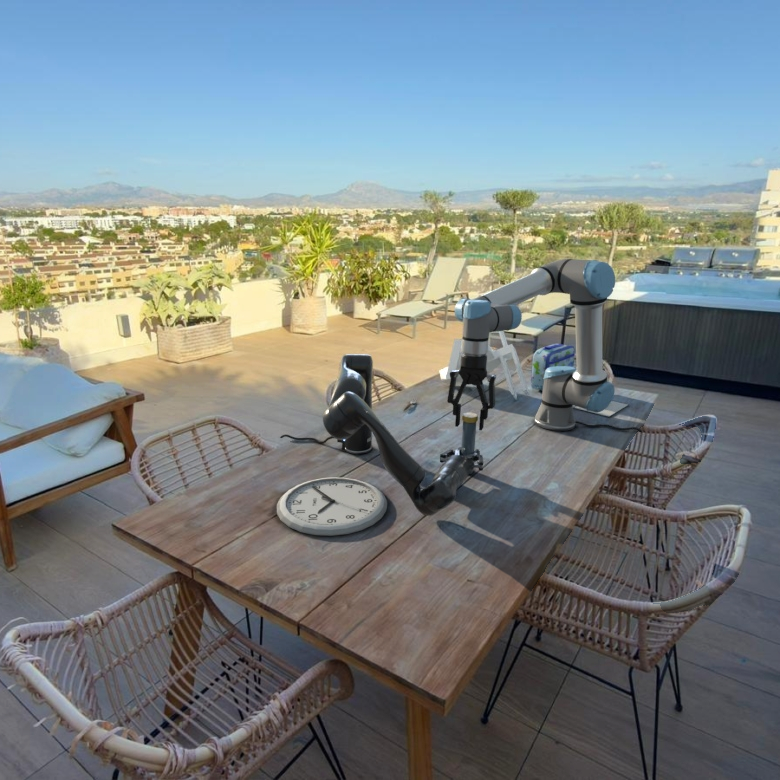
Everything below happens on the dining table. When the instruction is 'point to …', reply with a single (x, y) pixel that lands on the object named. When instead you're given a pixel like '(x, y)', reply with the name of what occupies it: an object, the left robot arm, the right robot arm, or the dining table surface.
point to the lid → (470, 417)
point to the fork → (411, 403)
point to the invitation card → (608, 408)
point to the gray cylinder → (468, 439)
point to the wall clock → (331, 506)
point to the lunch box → (550, 361)
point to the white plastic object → (488, 363)
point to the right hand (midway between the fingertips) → (469, 426)
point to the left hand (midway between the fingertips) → (469, 450)
